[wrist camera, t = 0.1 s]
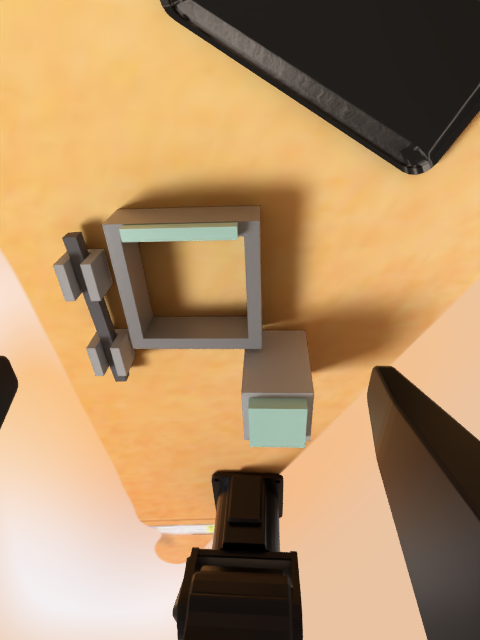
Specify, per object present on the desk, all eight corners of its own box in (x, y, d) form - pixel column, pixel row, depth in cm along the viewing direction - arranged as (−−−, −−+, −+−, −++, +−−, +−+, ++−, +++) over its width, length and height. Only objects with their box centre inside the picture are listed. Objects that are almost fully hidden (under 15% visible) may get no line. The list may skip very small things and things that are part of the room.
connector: (302, 374, 28) (311, 452, 23) (248, 374, 29) (243, 450, 23) (305, 330, 26) (315, 404, 21) (246, 330, 26) (240, 403, 21)
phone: (420, 183, 20) (148, 3, 16) (413, 177, 21) (155, 6, 17) (560, 10, 16) (237, -278, 12) (544, 13, 17) (240, -255, 13)
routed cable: (139, 369, 29) (130, 390, 27) (106, 369, 29) (96, 389, 27) (103, 228, 23) (89, 242, 21) (63, 228, 23) (45, 243, 21)
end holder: (262, 326, 26) (261, 355, 24) (143, 326, 27) (130, 354, 24) (260, 205, 22) (259, 224, 19) (117, 209, 22) (97, 228, 20)
